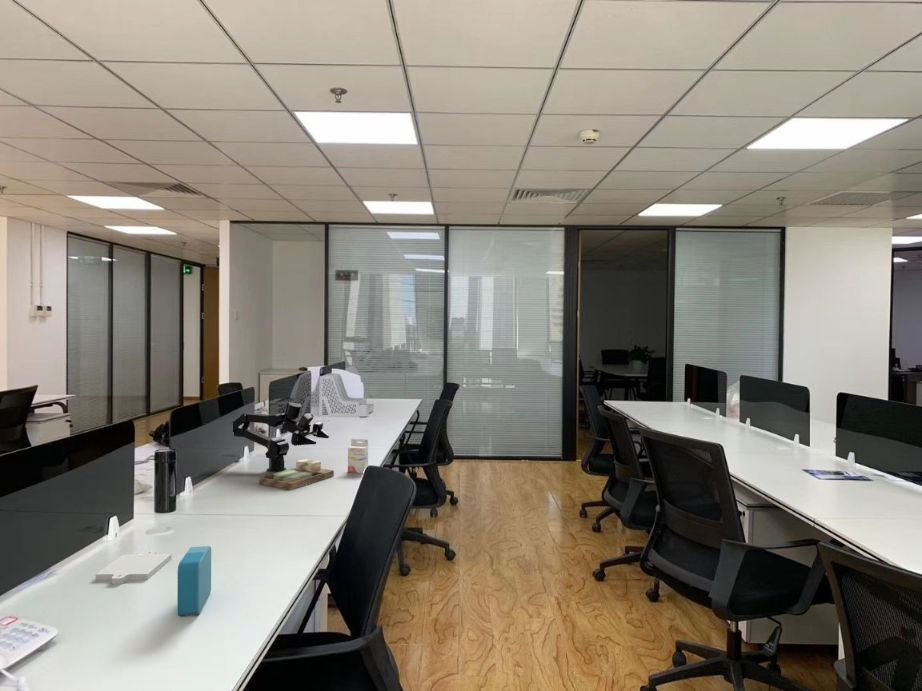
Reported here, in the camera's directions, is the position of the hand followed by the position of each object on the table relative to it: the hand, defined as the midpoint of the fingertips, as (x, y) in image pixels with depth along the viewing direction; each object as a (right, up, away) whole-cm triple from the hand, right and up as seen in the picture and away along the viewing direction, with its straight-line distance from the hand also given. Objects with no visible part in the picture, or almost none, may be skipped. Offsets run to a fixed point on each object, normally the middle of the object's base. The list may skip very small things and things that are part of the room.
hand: (322, 440), depth 250 cm
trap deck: (-9, -16, -7) cm, 20 cm away
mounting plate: (-25, -18, -101) cm, 105 cm away
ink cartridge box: (+14, -16, +9) cm, 23 cm away
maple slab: (-7, -13, +2) cm, 15 cm away
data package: (0, -18, -120) cm, 121 cm away
